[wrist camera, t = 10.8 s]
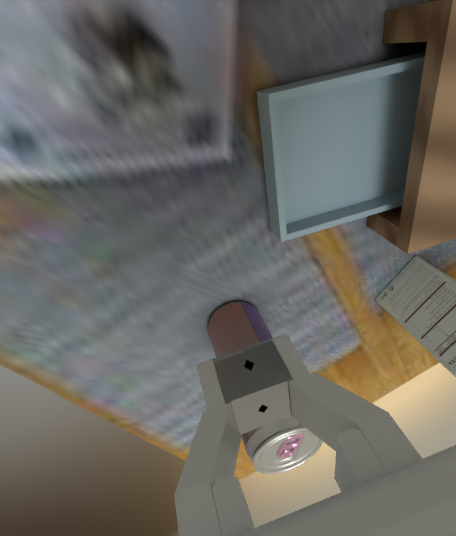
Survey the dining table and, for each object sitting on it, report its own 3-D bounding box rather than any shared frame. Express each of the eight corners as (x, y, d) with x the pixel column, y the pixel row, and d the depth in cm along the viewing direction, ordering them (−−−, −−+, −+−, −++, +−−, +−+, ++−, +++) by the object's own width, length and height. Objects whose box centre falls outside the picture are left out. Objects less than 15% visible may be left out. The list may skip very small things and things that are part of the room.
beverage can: (264, 299, 36) (337, 423, 24) (250, 339, 39) (309, 468, 27) (212, 297, 34) (264, 432, 22) (201, 340, 37) (242, 481, 25)
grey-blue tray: (256, 90, 25) (268, 94, 23) (473, 39, 27) (502, 38, 25) (270, 229, 32) (281, 242, 30) (442, 179, 34) (463, 187, 32)
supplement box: (445, 273, 42) (549, 343, 32) (404, 315, 45) (488, 393, 35) (415, 252, 39) (522, 323, 28) (372, 299, 41) (456, 380, 31)
